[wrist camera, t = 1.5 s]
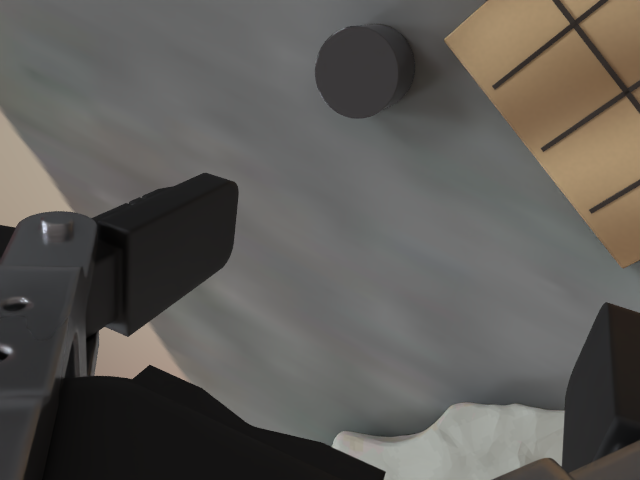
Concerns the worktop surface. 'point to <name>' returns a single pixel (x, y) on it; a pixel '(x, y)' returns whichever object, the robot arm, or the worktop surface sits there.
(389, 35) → the dark grey short cylinder
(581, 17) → the grid board
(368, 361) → the worktop surface
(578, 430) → the robot arm
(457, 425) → the stone tool replica
